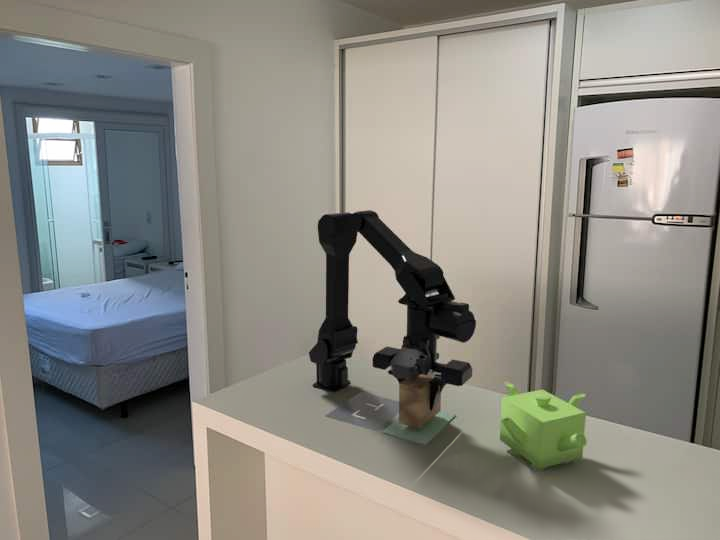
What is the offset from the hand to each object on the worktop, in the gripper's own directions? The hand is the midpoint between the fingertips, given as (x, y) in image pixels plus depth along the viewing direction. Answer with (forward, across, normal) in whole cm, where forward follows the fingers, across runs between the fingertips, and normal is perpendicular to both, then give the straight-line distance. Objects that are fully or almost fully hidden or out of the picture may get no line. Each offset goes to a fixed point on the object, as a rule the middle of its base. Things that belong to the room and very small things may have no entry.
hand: (420, 406), depth 110 cm
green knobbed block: (+4, +23, +1) cm, 23 cm away
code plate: (+4, -12, 0) cm, 12 cm away
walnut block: (+2, 0, 0) cm, 2 cm away
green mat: (+4, 0, 0) cm, 4 cm away
